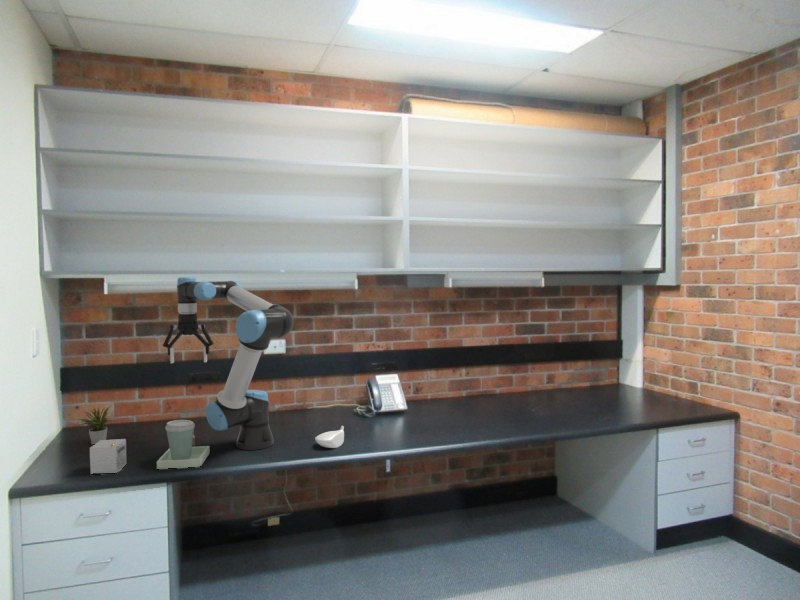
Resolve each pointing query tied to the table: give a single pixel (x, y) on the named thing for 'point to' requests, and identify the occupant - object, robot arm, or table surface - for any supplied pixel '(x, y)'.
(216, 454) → the table surface
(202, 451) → the tray
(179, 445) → the disposable coffee cup
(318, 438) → the golf club head
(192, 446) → the walnut block
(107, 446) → the unit
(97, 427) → the house plant
